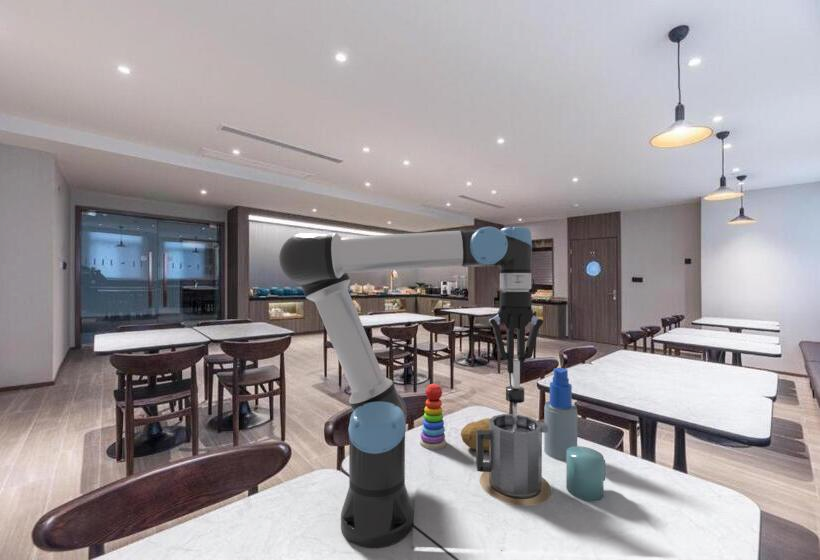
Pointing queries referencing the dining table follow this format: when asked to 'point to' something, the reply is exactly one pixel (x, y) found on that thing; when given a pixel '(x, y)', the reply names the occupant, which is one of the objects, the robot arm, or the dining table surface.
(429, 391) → the stacking toy
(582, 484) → the mug
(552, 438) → the spray bottle
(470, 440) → the potato
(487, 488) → the trivet
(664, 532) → the dining table surface
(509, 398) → the plunger
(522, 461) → the carafe
